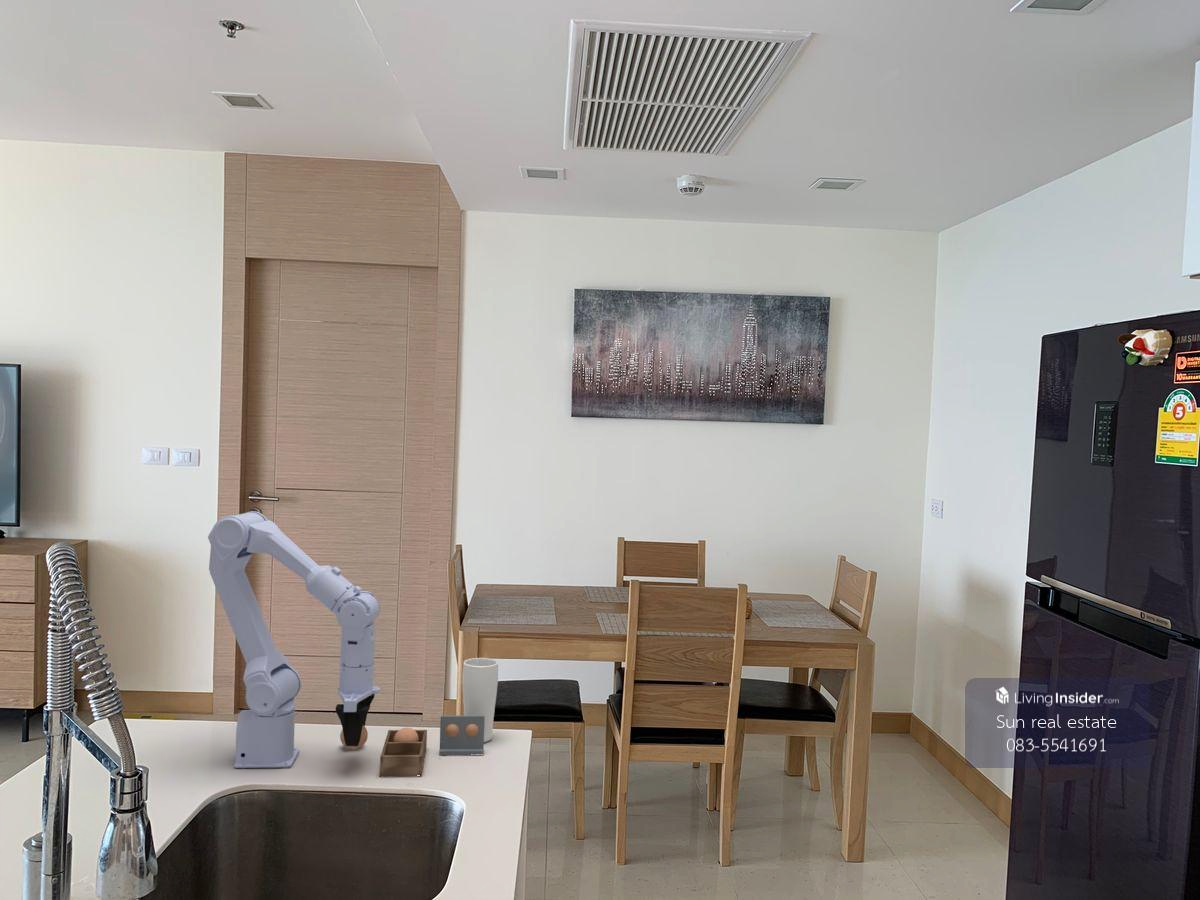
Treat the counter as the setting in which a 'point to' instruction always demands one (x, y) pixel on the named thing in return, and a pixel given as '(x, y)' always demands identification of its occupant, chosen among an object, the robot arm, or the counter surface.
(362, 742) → the terracotta ball
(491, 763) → the counter surface
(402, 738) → the terracotta ball
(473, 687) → the white tall tapered cylinder
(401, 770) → the pair tray
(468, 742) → the card
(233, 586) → the robot arm
